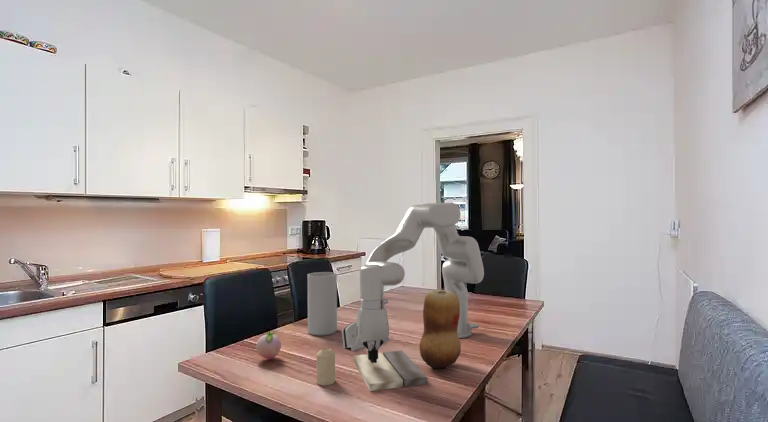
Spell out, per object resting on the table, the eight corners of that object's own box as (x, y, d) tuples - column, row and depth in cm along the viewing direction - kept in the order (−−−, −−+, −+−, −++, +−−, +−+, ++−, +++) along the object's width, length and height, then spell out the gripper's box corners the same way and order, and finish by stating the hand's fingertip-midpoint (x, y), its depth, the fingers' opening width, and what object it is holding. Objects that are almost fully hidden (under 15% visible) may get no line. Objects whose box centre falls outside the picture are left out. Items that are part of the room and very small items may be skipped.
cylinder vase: (302, 334, 166) (301, 275, 166) (317, 326, 178) (317, 271, 178) (327, 337, 161) (327, 277, 162) (342, 329, 173) (341, 272, 173)
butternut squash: (451, 378, 120) (450, 296, 120) (412, 369, 127) (412, 292, 127) (467, 363, 131) (466, 289, 132) (431, 356, 139) (430, 285, 139)
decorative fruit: (255, 357, 139) (255, 329, 140) (279, 354, 142) (279, 326, 142) (257, 366, 131) (256, 336, 131) (282, 363, 134) (282, 333, 134)
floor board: (401, 356, 139) (401, 350, 139) (427, 383, 116) (427, 376, 116) (383, 358, 137) (383, 352, 137) (404, 386, 114) (404, 379, 114)
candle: (317, 378, 120) (317, 346, 121) (335, 377, 121) (335, 345, 121) (315, 386, 115) (315, 352, 115) (334, 385, 115) (334, 351, 116)
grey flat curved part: (351, 351, 144) (345, 324, 147) (344, 352, 148) (338, 326, 150) (383, 340, 156) (377, 315, 159) (375, 342, 160) (369, 317, 162)
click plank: (381, 358, 137) (381, 352, 137) (402, 386, 114) (402, 380, 114) (353, 361, 134) (353, 355, 134) (369, 391, 111) (369, 384, 111)
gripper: (391, 299, 130) (392, 354, 130) (346, 303, 126) (347, 360, 126) (398, 304, 123) (399, 363, 123) (351, 308, 119) (352, 369, 119)
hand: (373, 361), depth 124 cm, fingers closed
